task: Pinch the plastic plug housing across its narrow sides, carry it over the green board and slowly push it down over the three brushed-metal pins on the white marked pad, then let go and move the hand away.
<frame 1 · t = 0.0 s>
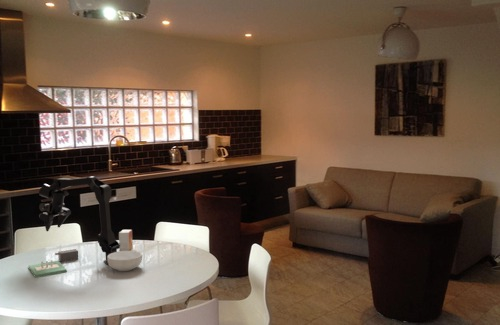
hand: (52, 229, 262), 15 cm above the table, tool pointing down, fingers open, 9 cm apart
plug housing: (68, 259, 260), on the table
cereal bowl: (125, 269, 243), on the table
small box: (126, 249, 279), on the table
pin board: (47, 269, 243), on the table
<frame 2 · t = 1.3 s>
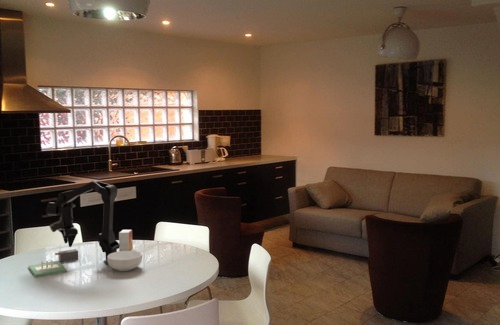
hand: (68, 245, 259), 8 cm above the table, tool pointing down, fingers open, 9 cm apart
nothing on the table moved.
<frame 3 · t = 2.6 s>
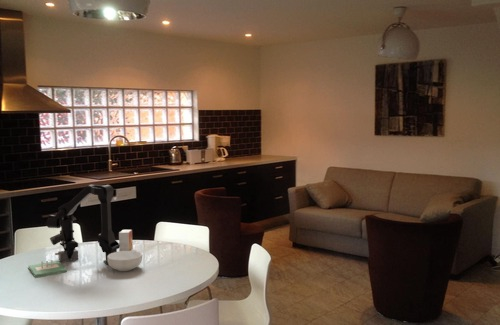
hand: (68, 257, 260), 1 cm above the table, tool pointing down, fingers closed on plug housing, 4 cm apart
plug housing: (68, 259, 260), on the table, touching gripper
everything else where it was.
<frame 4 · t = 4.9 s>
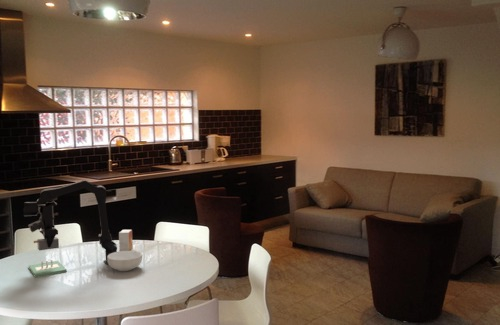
hand: (48, 246, 244), 11 cm above the table, tool pointing down, fingers closed on plug housing, 4 cm apart
plug housing: (48, 248, 244), point 10 cm above the table, touching gripper
everything else where it was.
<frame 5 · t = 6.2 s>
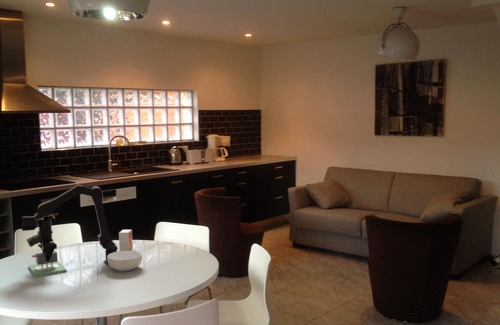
hand: (46, 260, 242), 5 cm above the table, tool pointing down, fingers closed on plug housing, 4 cm apart
plug housing: (46, 262, 242), point 4 cm above the table, touching gripper
everything else where it was.
when the fingers open (3 cm above the table, at t = 7.1 s): plug housing stays where it is, resting on pin board.
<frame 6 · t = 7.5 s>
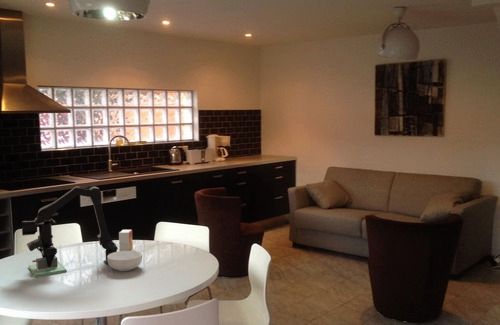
hand: (47, 264, 242), 3 cm above the table, tool pointing down, fingers open, 9 cm apart
plug housing: (47, 267, 243), point 1 cm above the table, touching pin board
everything else where it was.
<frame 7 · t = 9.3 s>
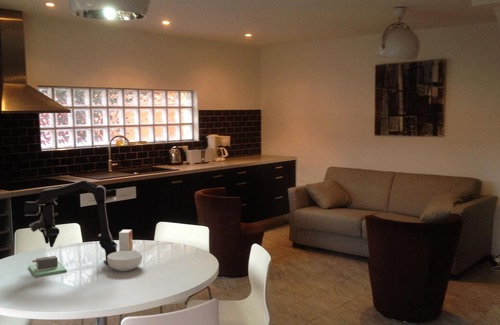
hand: (49, 245, 247), 11 cm above the table, tool pointing down, fingers open, 9 cm apart
nothing on the table moved.
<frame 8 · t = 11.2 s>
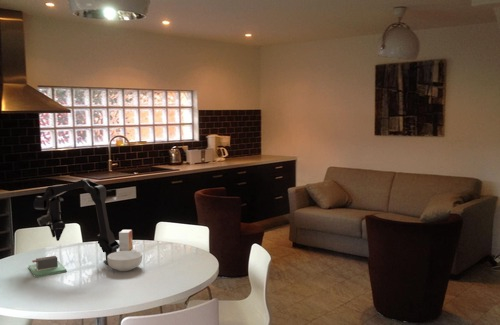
hand: (55, 238, 259), 11 cm above the table, tool pointing down, fingers open, 9 cm apart
nothing on the table moved.
at the end: plug housing 0.0 cm off-centre on the pin board, point 1.3 cm above the pin board's base; plug housing tilted 0°; the gripper is holding nothing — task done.
